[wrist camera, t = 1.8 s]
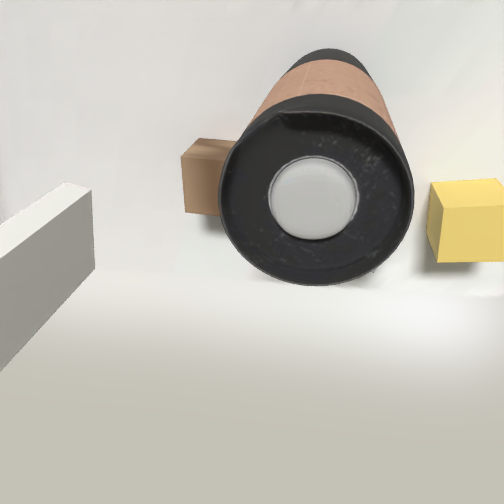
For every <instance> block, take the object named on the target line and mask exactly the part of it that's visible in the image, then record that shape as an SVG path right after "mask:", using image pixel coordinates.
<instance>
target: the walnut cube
mask: <svg viewBox="0 0 504 504" xmlns="http://www.w3.org/2000/svg"><path fill="white" fill-rule="evenodd" d="M236 142H237V141H227V140H216V139H204V138H199V139H198V140H197V141H196V142H195V143H194V144H193V145H192V146H191V147H190V148H189V149H188V150H187V151H186V152H185V153H184V154H183V155H182V156H181V166H182V178H183V191H184V203H185V212H187V213H196V214H205V215H214V216H220V213H219V207H218V187H219V180H220V176H221V172H222V168H223V165H224V162H225V160H226V157H227V155H228V153H229V151H230V150H231V148H232V147H233V145H234V144H235V143H236Z"/></svg>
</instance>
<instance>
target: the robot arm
mask: <svg viewBox="0 0 504 504" xmlns="http://www.w3.org/2000/svg"><path fill="white" fill-rule="evenodd" d="M94 269H95V259H94V238H93V217H92V195H91V189H87V188H84V187H80V186H77V185H73V184H70V183H66V182H64V183H63V184H61V185H59V186H58V187H56V188H55V189H53V190H52V191H50V192H49V193H47V194H46V195H44V196H43V197H41V198H40V199H38V200H37V201H35V202H34V203H32V204H31V205H29V206H28V207H26V208H25V209H23V210H22V211H20V212H19V213H17V214H16V215H14V216H13V217H11V218H10V219H8V220H7V221H5V222H3V223H2V224H0V371H1V370H2V369H3V368H4V367H5V366H6V365H7V364H8V363H9V362H10V360H11V359H12V358H13V357H14V356H15V355H16V354H17V353H18V352H19V351H20V349H22V347H23V346H24V345H25V344H26V343H27V342H28V341H29V340H30V339H31V338H32V337H33V336H34V334H35V333H36V332H37V331H38V330H39V329H40V328H41V327H42V326H43V325H44V323H45V322H46V321H47V320H48V319H49V318H50V317H51V316H52V315H53V314H54V313H55V312H56V310H57V309H58V308H59V307H60V306H61V305H62V304H63V303H64V301H66V299H67V298H68V297H69V296H70V295H71V294H72V293H73V292H74V291H75V290H76V289H77V287H78V286H79V285H80V284H81V283H82V282H83V281H84V280H85V279H86V277H88V276H89V274H90V273H91V272H92V271H93V270H94Z"/></svg>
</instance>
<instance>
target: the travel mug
mask: <svg viewBox="0 0 504 504" xmlns="http://www.w3.org/2000/svg"><path fill="white" fill-rule="evenodd" d="M218 207H219V213H220V217H221V221H222V224H223V227H224V229H225V231H226V234H227V236H228V237H229V239H230V241H231V242H232V244H233V245H234V247H235V248H236V249H237V251H238V252H239V253H240V254H241V255H242V256H243V257H244V258H245V259H246V260H247V261H248V262H250V263H251V264H252V265H253V266H255V267H256V268H258V269H259V270H261V271H262V272H264V273H266V274H268V275H270V276H272V277H274V278H277V279H279V280H282V281H285V282H289V283H292V284H298V285H304V286H328V285H335V284H340V283H344V282H348V281H351V280H353V279H356V278H359V277H361V276H363V275H365V274H367V273H369V272H370V271H372V270H373V269H375V268H376V267H378V266H379V265H380V264H382V263H383V262H384V261H385V260H386V259H387V258H388V257H389V256H390V255H391V254H392V253H393V252H394V251H395V250H396V248H397V247H398V246H399V244H400V243H401V241H402V240H403V238H404V236H405V234H406V232H407V230H408V228H409V225H410V222H411V219H412V214H413V209H414V185H413V178H412V174H411V171H410V167H409V164H408V162H407V159H406V156H405V154H404V151H403V149H402V146H401V144H400V141H399V138H398V136H397V133H396V131H395V128H394V126H393V123H392V120H391V118H390V115H389V113H388V110H387V107H386V105H385V102H384V100H383V97H382V95H381V93H380V91H379V89H378V87H377V86H376V84H375V83H374V81H373V79H372V78H371V76H370V75H369V73H368V72H367V70H366V69H365V67H364V66H363V65H362V64H361V62H360V61H359V60H358V59H356V58H355V57H354V56H352V55H351V54H349V53H347V52H345V51H342V50H338V49H321V50H316V51H314V52H311V53H309V54H307V55H305V56H304V57H302V58H301V59H299V60H298V61H297V62H296V63H295V64H294V65H293V66H292V67H291V68H290V69H289V70H288V71H287V72H286V73H285V74H284V75H283V76H282V77H281V78H280V80H279V81H278V82H277V83H276V84H275V85H274V87H273V88H272V90H271V91H270V93H269V94H268V96H267V97H266V99H265V100H264V102H263V103H262V105H261V107H260V108H259V110H258V111H257V113H256V114H255V116H254V117H253V119H252V120H251V122H250V123H249V125H248V126H247V128H246V129H245V131H244V132H243V134H242V135H241V137H240V139H239V140H238V141H237V142H236V143H235V144H234V145H233V147H232V148H231V150H230V151H229V153H228V155H227V157H226V160H225V162H224V165H223V168H222V172H221V176H220V180H219V187H218Z"/></svg>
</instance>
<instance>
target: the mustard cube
mask: <svg viewBox="0 0 504 504" xmlns="http://www.w3.org/2000/svg"><path fill="white" fill-rule="evenodd" d="M426 234H427V236H428V239H429V242H430V245H431V247H432V250H433V253H434V255H435V258H436V261H437V263H443V262H502V261H504V187H503V186H502V184H501V183H500V182H499V181H498V180H497V179H496V178H493V179H477V180H462V181H446V182H431V189H430V199H429V209H428V219H427V229H426Z"/></svg>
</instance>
